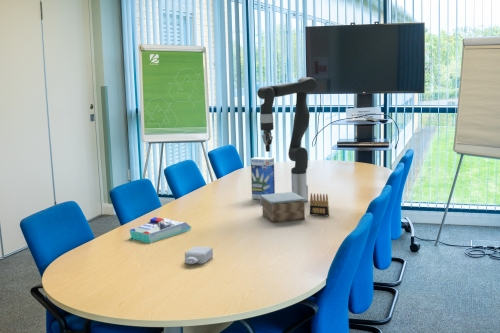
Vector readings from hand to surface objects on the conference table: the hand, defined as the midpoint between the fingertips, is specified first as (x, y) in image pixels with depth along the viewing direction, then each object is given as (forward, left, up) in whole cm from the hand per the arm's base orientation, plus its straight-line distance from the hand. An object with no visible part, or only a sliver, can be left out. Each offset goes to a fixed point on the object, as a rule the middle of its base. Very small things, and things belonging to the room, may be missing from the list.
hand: (267, 151), depth 336 cm
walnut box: (+1, +27, -33) cm, 43 cm away
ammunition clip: (-19, +30, -33) cm, 49 cm away
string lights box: (-4, -24, -33) cm, 41 cm away
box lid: (+1, +26, -28) cm, 38 cm away
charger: (+61, +84, -34) cm, 109 cm away
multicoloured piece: (+69, +33, -34) cm, 83 cm away
